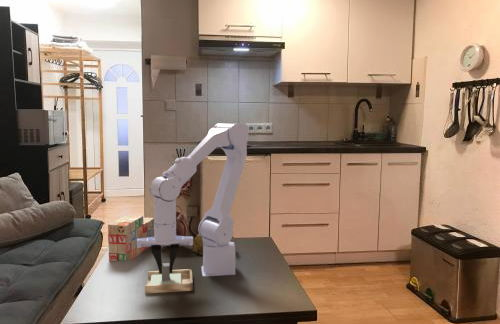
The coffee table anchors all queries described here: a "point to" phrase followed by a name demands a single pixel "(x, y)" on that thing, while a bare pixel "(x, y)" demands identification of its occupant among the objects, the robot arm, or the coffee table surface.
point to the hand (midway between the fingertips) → (165, 271)
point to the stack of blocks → (128, 236)
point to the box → (183, 286)
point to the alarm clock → (181, 223)
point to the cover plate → (159, 277)
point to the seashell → (201, 244)
